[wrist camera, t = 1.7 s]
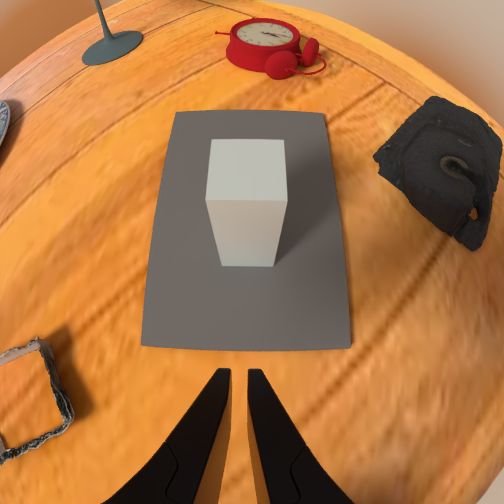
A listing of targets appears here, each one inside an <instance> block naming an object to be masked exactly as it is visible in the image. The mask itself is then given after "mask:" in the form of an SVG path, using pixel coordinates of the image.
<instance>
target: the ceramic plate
mask: <svg viewBox="0 0 504 504" xmlns="http://www.w3.org/2000/svg"><path fill="white" fill-rule="evenodd" d="M9 121H10V108H9V105H8V104H7V103H6V102H4V101H0V145H1V143H2V141H3V139H4V137H5V134H6V131H7V128H8V125H9Z"/></svg>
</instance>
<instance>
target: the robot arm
mask: <svg viewBox="0 0 504 504" xmlns="http://www.w3.org/2000/svg"><path fill="white" fill-rule="evenodd" d="M231 409H232V374H231V369H230V368H218V369H217V370H216V372H215V373H214V374H213V376H212V377H211V379H210V380H209V381H208V383H207V384H206V386H205V387H204V388H203V390H202V391H201V392H200V394H199V395H198V397H197V398H196V399H195V401H194V402H193V403H192V405H191V406H190V408H189V409H188V410H187V412H186V413H185V414H184V416H183V417H182V418H181V420H180V421H179V423H178V424H177V425H176V427H175V428H174V429H173V431H172V432H171V433H170V435H169V436H168V437H167V439H166V440H165V441H166V442H163V444H162V445H161V446H160V448H159V449H158V450H157V451H156V453H155V454H154V455H153V456H152V458H151V459H150V460H149V461H148V462H147V463H146V464H145V465H144V466H143V467H142V468H141V469H140V470H139V471H138V472H137V473H136V474H135V475H134V476H133V477H132V478H131V479H130V480H129V481H128V482H127V483H126V484H125V485H124V486H123V487H121V488H120V489H119V490H118V491H117V492H116V493H115V494H114V495H113V496H112V497H110V498H109V499H108V500H106V501H105V502H103V503H101V504H218V500H219V495H220V489H221V483H222V478H223V472H224V467H225V461H226V456H227V450H228V444H229V439H230V432H231ZM247 428H248V440H249V448H250V455H251V462H252V469H253V476H254V483H255V489H256V496H257V503H258V504H355V503H354V502H353V501H352V500H351V499H350V498H349V497H348V496H347V495H346V494H345V493H344V492H343V491H342V490H341V488H340V487H339V486H338V485H337V484H336V483H335V482H334V481H333V480H332V479H331V477H330V476H329V475H328V474H327V473H326V471H325V470H324V469H323V468H322V467H321V465H320V464H319V462H318V461H317V459H316V458H315V457H314V455H313V454H312V452H311V450H310V449H309V447H308V446H306V443H305V441H304V439H303V438H302V436H301V435H300V433H299V431H298V430H297V428H296V427H295V425H294V423H293V422H292V420H291V418H290V417H289V415H288V413H287V412H286V410H285V408H284V407H283V405H282V403H281V402H280V400H279V398H278V397H277V395H276V393H275V392H274V390H273V388H272V387H271V385H270V383H269V381H268V380H267V378H266V376H265V375H264V373H263V371H262V370H261V369H248V389H247Z"/></svg>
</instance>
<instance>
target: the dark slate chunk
mask: <svg viewBox="0 0 504 504" xmlns="http://www.w3.org/2000/svg"><path fill="white" fill-rule="evenodd" d="M502 146H503V145H502V141H501V139H500V137H499V136H498V135H497V134H496V133H495V132H494V131H493V130H492V128H491V127H489V126H488V124H487V123H486V122H485V121H484V120H483V118H482V117H480V116H479V115H477V114H476V113H474V112H472V111H470V110H468V109H466V108H464V107H461V106H457V105H455V104H453V103H452V102H450V101H448V100H446V99H445V98H440V97H438V96H431V97H430V98H429V99H428V100H426V101H425V103H424V105H423V106H420V108H418V109H417V110H416V112H414V113H413V114H412V115H411V116H409V118H408V119H406V121H405V122H404V123H403V124H402V125H401V127H400V128H398V129H397V131H396V132H395V133H394V134H393V135H392V136H391V137H390V139H389V140H388V141H386V142H385V144H384V145H382V146H381V147H380V148H379V149H378V151H377V152H376V153H375V154H374V155H373V158H374V160H375V161H376V162H378V163H379V166H380V169H379V172H378V174H379V175H381V176H382V177H384V178H385V179H387V180H388V181H389V182H390V183H391V184H393V185H394V186H395V187H397V188H398V189H399V190H400V191H402V192H403V193H404V194H405V195H406V197H407V198H408V200H409V202H410V203H411V205H412V206H413V207H414V208H416V209H417V210H418V211H419V212H420V213H421V214H422V215H423V216H424V217H426V218H427V219H428V220H429V221H431V222H432V223H433V224H434V225H435V226H436V227H437V228H439V229H440V230H441V231H442V232H447V233H449V235H450V236H451V237H452V236H454V237H455V238H456V239H457V240H458V241H459V242H461V241H462V242H463V243H464V244H465V245H466V246H467V247H469V248H470V249H471V250H472V251H475V250H476V249H478V248H480V247H481V245H482V242H483V240H484V239H485V237H486V234H487V229H488V224H489V221H490V214H491V209H492V202H493V201H492V198H493V196H494V194H493V193H494V192H495V191H496V189H497V187H496V186H497V184H498V180H499V170H500V159H501V155H502ZM473 207H475V208H476V210H477V214H478V218H477V219H476V220H473V219H472V218H471V217H470V216H469V215H468V214H470V213H471V210H472V209H473Z"/></svg>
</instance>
